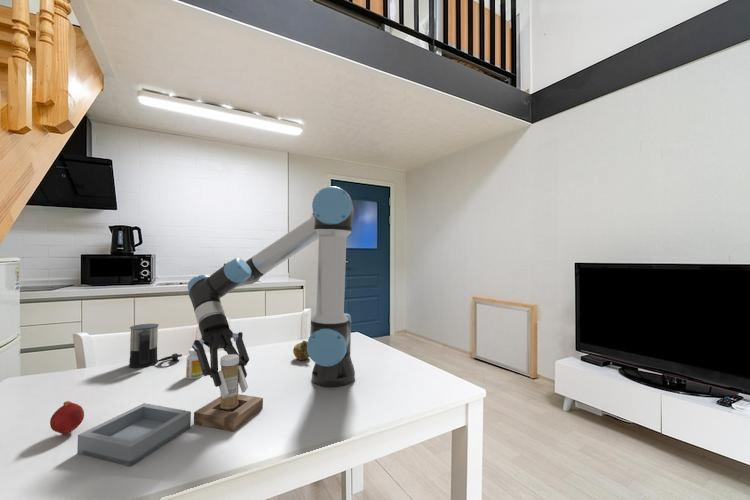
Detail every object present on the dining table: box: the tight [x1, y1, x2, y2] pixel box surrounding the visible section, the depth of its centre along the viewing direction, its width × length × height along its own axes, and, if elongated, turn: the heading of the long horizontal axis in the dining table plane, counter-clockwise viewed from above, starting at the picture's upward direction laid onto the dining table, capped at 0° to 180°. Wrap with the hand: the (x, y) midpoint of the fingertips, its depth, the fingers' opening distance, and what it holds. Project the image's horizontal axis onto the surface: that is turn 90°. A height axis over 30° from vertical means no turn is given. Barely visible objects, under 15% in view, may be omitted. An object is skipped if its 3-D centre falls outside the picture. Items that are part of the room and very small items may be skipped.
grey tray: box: [76, 402, 192, 467], centre depth 74 cm, size 15×15×4 cm
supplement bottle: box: [185, 347, 204, 380], centre depth 111 cm, size 5×5×10 cm
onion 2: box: [292, 340, 310, 361], centre depth 131 cm, size 8×8×8 cm
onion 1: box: [49, 400, 85, 436], centre depth 75 cm, size 6×6×8 cm
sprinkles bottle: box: [219, 354, 239, 411], centre depth 85 cm, size 5×5×14 cm
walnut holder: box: [193, 393, 264, 432], centre depth 85 cm, size 12×12×3 cm
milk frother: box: [128, 323, 183, 369], centre depth 123 cm, size 14×16×15 cm
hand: (235, 392), depth 82 cm, fingers closed on sprinkles bottle, 4 cm apart
